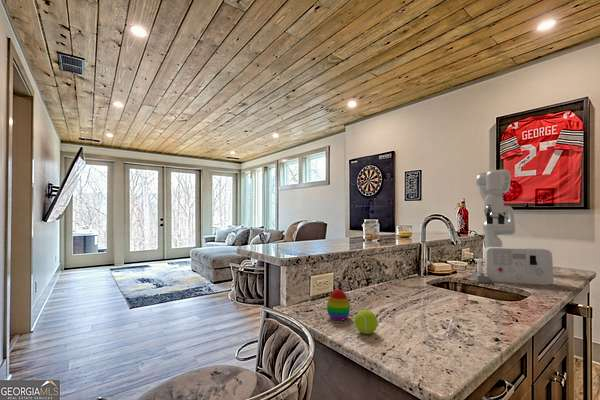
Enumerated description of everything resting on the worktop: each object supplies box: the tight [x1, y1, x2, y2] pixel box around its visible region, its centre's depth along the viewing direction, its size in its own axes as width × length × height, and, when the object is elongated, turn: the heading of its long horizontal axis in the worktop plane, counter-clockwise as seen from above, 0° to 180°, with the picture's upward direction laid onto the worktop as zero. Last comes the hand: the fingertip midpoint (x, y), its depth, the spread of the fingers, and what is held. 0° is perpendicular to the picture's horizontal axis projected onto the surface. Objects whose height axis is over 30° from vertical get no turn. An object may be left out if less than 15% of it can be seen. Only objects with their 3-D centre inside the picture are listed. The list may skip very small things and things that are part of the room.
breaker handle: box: [475, 258, 483, 276], centre depth 158 cm, size 3×2×9 cm
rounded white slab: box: [483, 246, 554, 286], centre depth 151 cm, size 29×8×18 cm, turn 69°
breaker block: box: [471, 269, 490, 284], centre depth 158 cm, size 15×5×4 cm, turn 160°
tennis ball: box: [354, 309, 378, 335], centre depth 90 cm, size 7×7×7 cm
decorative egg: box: [326, 288, 351, 321], centre depth 103 cm, size 8×8×10 cm
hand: (495, 224), depth 159 cm, fingers open, 9 cm apart
